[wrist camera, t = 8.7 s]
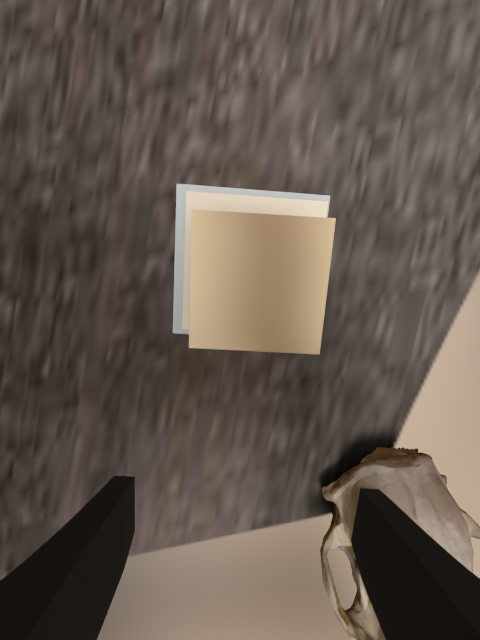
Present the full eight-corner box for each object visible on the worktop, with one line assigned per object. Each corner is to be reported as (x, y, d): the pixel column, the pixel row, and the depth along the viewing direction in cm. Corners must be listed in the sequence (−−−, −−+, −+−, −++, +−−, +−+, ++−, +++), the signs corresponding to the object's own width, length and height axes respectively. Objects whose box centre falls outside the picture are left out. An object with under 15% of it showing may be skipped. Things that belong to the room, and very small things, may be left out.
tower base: (179, 324, 20) (172, 333, 18) (183, 190, 19) (176, 183, 17) (303, 332, 21) (311, 342, 18) (319, 201, 19) (330, 195, 17)
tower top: (188, 319, 18) (182, 329, 16) (192, 198, 17) (186, 190, 15) (302, 327, 18) (311, 337, 16) (316, 207, 17) (328, 201, 15)
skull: (347, 568, 29) (285, 676, 22) (361, 402, 25) (293, 464, 18) (475, 654, 23) (449, 845, 16) (518, 451, 19) (509, 575, 12)
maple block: (202, 316, 16) (188, 347, 11) (205, 221, 15) (191, 209, 10) (293, 321, 16) (319, 354, 11) (302, 227, 15) (335, 218, 10)
